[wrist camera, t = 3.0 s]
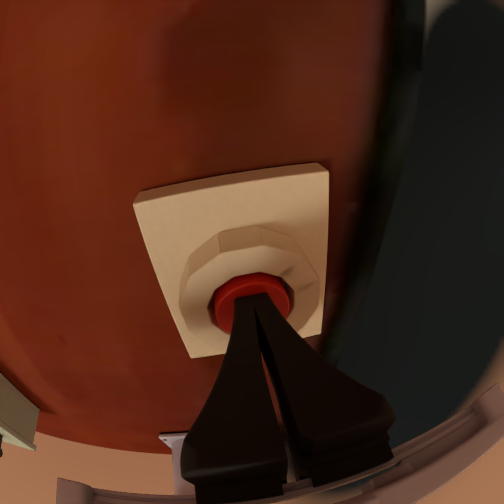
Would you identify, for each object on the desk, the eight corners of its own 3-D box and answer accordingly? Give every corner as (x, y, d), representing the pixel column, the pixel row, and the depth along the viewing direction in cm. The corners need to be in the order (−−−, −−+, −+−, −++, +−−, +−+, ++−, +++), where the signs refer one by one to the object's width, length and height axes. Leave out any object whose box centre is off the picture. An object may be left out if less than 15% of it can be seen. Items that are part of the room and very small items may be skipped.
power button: (281, 304, 14) (290, 329, 13) (219, 315, 14) (222, 342, 13) (278, 252, 13) (289, 276, 11) (206, 265, 12) (208, 291, 11)
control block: (314, 318, 18) (329, 353, 15) (190, 341, 17) (191, 380, 15) (317, 161, 12) (347, 184, 10) (138, 191, 12) (122, 222, 9)
